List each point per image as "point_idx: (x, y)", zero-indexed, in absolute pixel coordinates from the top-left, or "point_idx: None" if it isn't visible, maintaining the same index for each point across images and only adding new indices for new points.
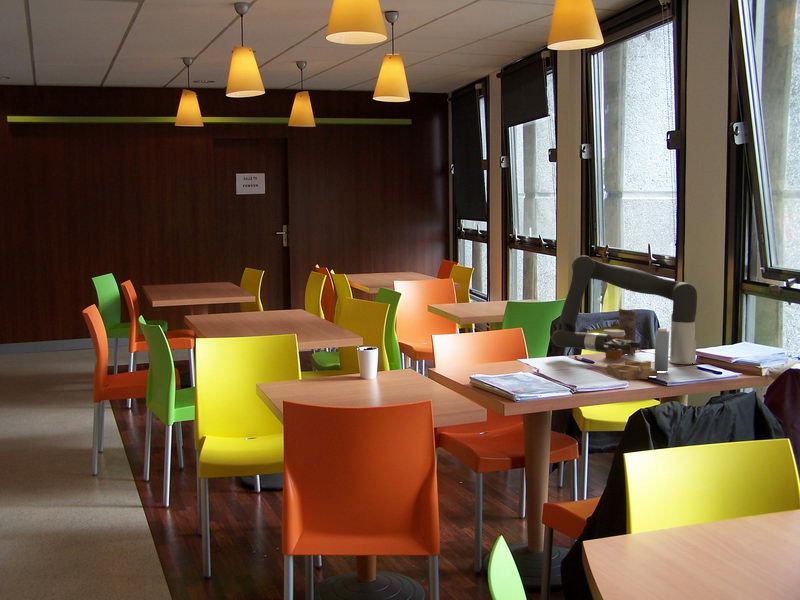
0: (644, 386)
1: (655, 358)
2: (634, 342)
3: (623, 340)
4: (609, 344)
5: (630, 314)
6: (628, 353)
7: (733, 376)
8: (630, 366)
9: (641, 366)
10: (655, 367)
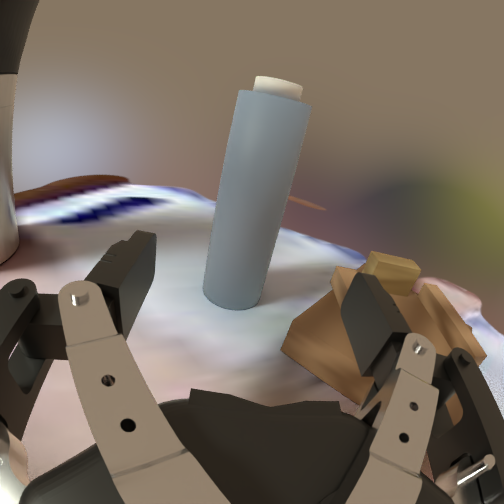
0: (442, 290)
1: (270, 247)
2: (135, 265)
3: (140, 373)
4: (495, 426)
5: None
6: None
7: (176, 189)
8: (448, 302)
9: (412, 281)
10: (261, 284)
